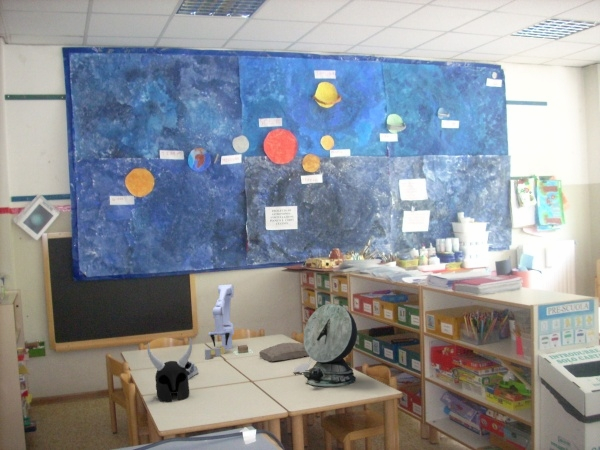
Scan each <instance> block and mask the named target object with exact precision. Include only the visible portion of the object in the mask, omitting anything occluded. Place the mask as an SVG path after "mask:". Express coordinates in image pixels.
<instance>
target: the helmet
mask: <svg viewBox="0 0 600 450" xmlns="http://www.w3.org/2000/svg"><path fill="white" fill-rule="evenodd" d="M146 347H147V351H146V352H147V354H148V358H149V360H150V361H151V364H152V365H153V366H154V368H155V369H156V370H157V371H156V373H155V390H156V397H157V398H158V400H159V401H160V402H164V403H168V402H172V400H173V398H172V393H176V395H177V400H178V401H179V400H185V399H187V398H189V396H190V383H189V379H188V374H187V370H186V368H185V365H186V363H187V362H188V361H189V359H190V357H191V354H192V352H193V351H192V350H193V343H192V338H191V337H189V347H188V349H187V350H186V352H185V353H184V354H183V355H182V356H181V357H180V358H179V360H176V361H175V360H169V361H165V362H163V361H162V360H160V359H159V358H157V357H156V356H155V355H154V354H153V353H152V352H151V349H150V342H149V341H148V342H147V346H146Z"/></svg>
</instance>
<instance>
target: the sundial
mask: <svg viewBox="0 0 600 450" xmlns="http://www.w3.org/2000/svg"><path fill="white" fill-rule="evenodd" d="M354 318H355V317H354V316H353V315H352V313H350V311H349V310H348V309H346V308H345V307H344V306H342V305H341V304H335V303H326V304H323V305H321V306H320V307H318V308H317V309H315V311H314V312H313V313H312V314H311V315H310V316H309V318H308V320H307V321H306V323H305V327H304V331H303V343H304V346H305V350H306V352H307V354H308V355H309V356H308V357H311V359H312V360H313V361H315V362H316V363H315V364H314V365H313V367H311V368H308V370H309V372H305V373H304V374H303V377H304V378H305V379H307V380H306V381H307V383H308V385H311V386H316V387H318V386H319V387H340V386H347V385H350V384H353V383H355V382H356V381H357V378H356V376H355V373H354V369H353V368H352V367H350V365H349V364H348V362H347V361H346V359H345V358H346V357H347V356H349V354H350V353H351V352H352V351H353V350H354V348H355V345H356V343H357V341H358V340H357V339H358V328H357V323H356V320H355V319H354Z"/></svg>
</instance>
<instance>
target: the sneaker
mask: <svg viewBox="0 0 600 450" xmlns="http://www.w3.org/2000/svg"><path fill="white" fill-rule="evenodd" d="M185 368H186V370H187V374H188V380H190V379H191V378H192V377H193V376H196V375H197V374H198V373H199V368H198V367H197V366H196V365H195V363H194V362H192V361H189V360H188V362H187V363H186V365H185Z"/></svg>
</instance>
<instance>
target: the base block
mask: <svg viewBox="0 0 600 450" xmlns="http://www.w3.org/2000/svg"><path fill="white" fill-rule="evenodd" d="M248 350H249V346H248V345H247V344H243V345H242V344H241V345H237V351H238V353H239V354H240V353H248Z"/></svg>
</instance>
